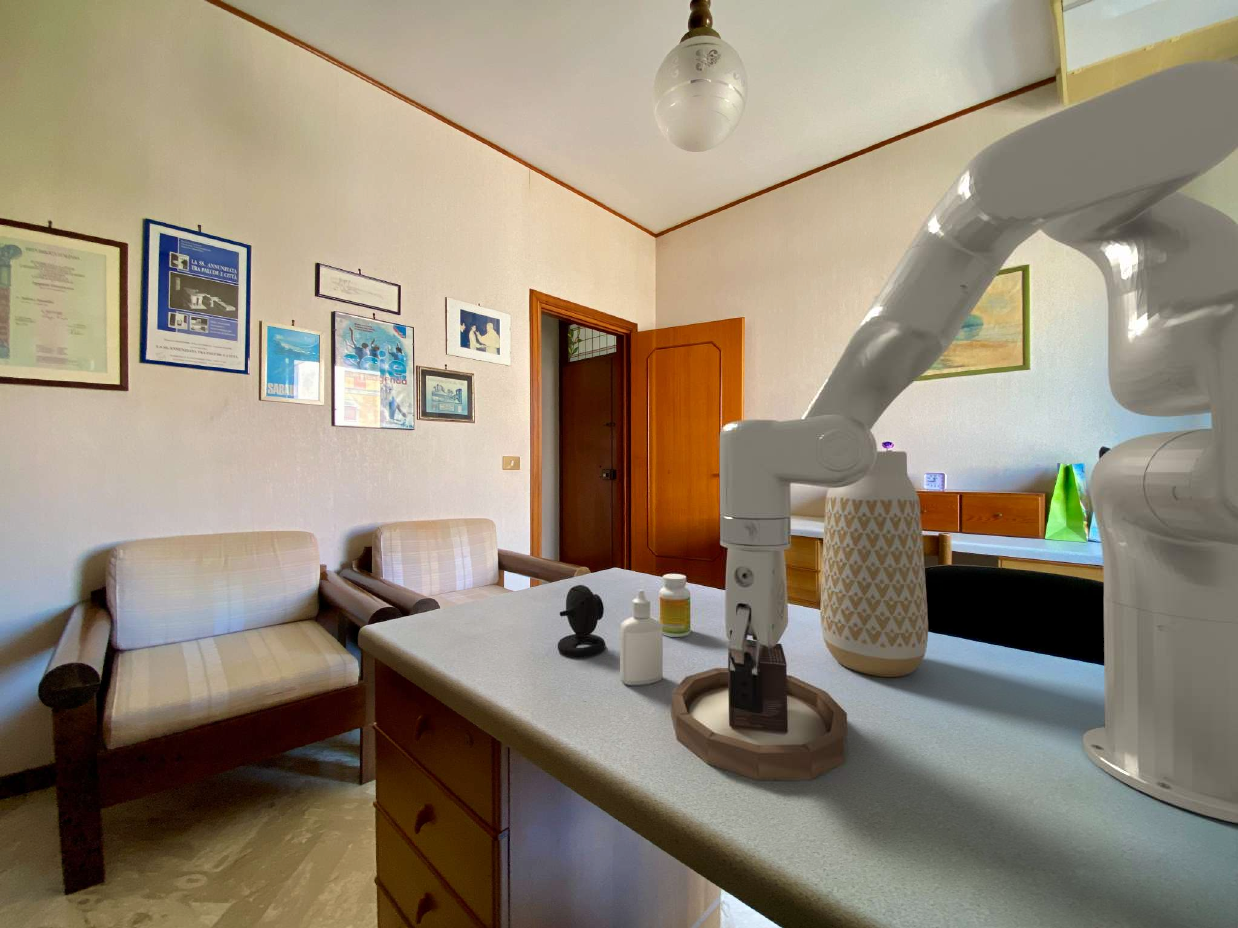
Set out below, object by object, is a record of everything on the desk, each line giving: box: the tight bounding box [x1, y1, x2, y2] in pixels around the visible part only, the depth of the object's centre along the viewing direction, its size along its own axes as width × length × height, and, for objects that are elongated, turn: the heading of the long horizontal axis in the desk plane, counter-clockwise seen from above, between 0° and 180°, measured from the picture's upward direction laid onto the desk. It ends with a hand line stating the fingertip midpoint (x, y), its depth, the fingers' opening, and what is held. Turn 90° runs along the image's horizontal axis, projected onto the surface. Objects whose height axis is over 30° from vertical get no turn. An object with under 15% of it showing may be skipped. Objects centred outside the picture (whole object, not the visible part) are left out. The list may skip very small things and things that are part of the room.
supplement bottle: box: [658, 573, 691, 638], centre depth 81 cm, size 5×5×10 cm
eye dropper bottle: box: [619, 589, 664, 686], centre depth 63 cm, size 4×6×12 cm
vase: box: [819, 450, 929, 678], centre depth 68 cm, size 14×14×31 cm
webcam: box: [557, 584, 606, 659], centre depth 74 cm, size 8×8×10 cm
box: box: [727, 640, 788, 733], centre depth 52 cm, size 6×6×7 cm
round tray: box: [670, 667, 848, 781], centre depth 52 cm, size 18×18×2 cm
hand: (756, 691), depth 52 cm, fingers open, 7 cm apart
